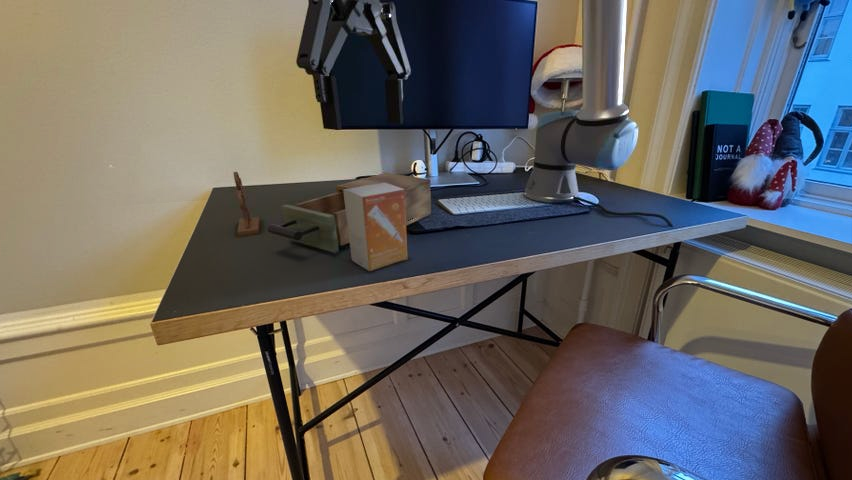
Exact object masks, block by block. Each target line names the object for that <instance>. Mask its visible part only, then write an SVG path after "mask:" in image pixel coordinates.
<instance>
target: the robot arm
mask: <svg viewBox="0 0 852 480" xmlns="http://www.w3.org/2000/svg"><path fill="white" fill-rule="evenodd" d="M331 9H332V13H331V15H330V11H331ZM627 10H628V0H581V40H582V41H581V45H582V46H581V49H582V51H581V53H582V55H581V57H582V58H581V60H582V61H581V62H582V69H581V72H582V78H581V79H582V106H581V108H580V109H574V110H562V111H561V110H559V111H549V112H543V113H541V115H540V116H539V118H538V121H537V128H536V130H535V131H536V133H535V144H534V145H535V146H534V155H533V157H534V158H533V167H532V171H531V173H530V175H529V178H528V180H527V182H526V185H525V188H524V197H525V198H527V199H529V200H532V201H535V202H540V203H546V204H547V203H548V204H567V203H573V202H576V201H580V202H583V203H586V204H588V205H592V206H593V207H597V208H599V209H601V210H602V211H603V212H605V213H606V214H609V215H612V216H642V217H652V218H658V219H661V220H663V221H665V223H666V224H667V225H668V226H669V227H674V225H673V223H672V222H671V221H670V219H668V217H666V216H664V215H662V214H659V213H650V212H649V213H648V212H640V211H628V212H627V211H626V212H619V211H618V212H616V211H611V210H608V209H607V208H606V207H605V206H603V205H601V204H599V203H596V202H593V201H590V200H587V199H584V198H582V197H579V196H578V195H579V188H578V181H577V175H576V166H582V167H587V168H592V169H596V170H598V171H602V170H604V171H615V170H618V169H619V168H621V167H622V166H624V165H625V164H626V163H627V161H628V160H629V158H630V157H631V155H632V154H633V152H634V150H635V148H636V145H637V143H638V142H637V141H638V139H639V127H638V125H637V123H636V122H635V121H634V120H632V119H629V107H628V105H626V104H625V103H624V102H623V90H624V87H623V86H624V70H625V69H624V68H625V51H626V49H625V48H626V34H627V33H626V32H627V31H626V29H627V13H628V11H627ZM329 16H330V17H329ZM349 34H356V35H358V36H363V38H364V39H366V40H367V41H368V42H369V43H370V45H371V47H372V49H373V51H374V53H375V55H376V56H377V57H376V58H378V61H379V62H380V64H381V66H382V68H383V70H384V72H385V73H386V75H387V78H384V88H385V89H384V92H385V105H386V123H387V124H394V125H395V124H398V125H404V115H403V100H404V99H403V98H404V91H403V80H408V78H409V76H410V75H411V73H412V69H411V66H410V62H409V59H408V55H407V52H406V49H405V45H404V42H403V38H402V35H401V31H400V29H399V25H398V21H397V13H396V6H395V3H394V2H393V1H391V2H382V3H381V0H308V4H307V10H306V14H305V19H304V22H303V29H302V31H301V37H300V42H299V46H298V51H297V54H296V60H295V63H296V66H297V68H299V69H304V71H305V73H306V74H307V75H309V76H312V81H313V86H314V88H313V89H314V93H315V95H314V96H315V99H316V102H317V103H319V107H320V112H321V113H320V114H321V121H322V127H323V129H324V130H333V131H341V130H343V128H342V120H341V112H340V111H341V110H340V101H339V95H338V94H339V93H338V85H337V78H336V75H330V73H331V71H332V69H333V67H334V64H335V62H336V61H337V58H338V56H339V53H340V52H341V50H342V47H343V46H344V44H345V42H346V39H347V37H348V35H349ZM525 193H526V194H525Z"/></svg>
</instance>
